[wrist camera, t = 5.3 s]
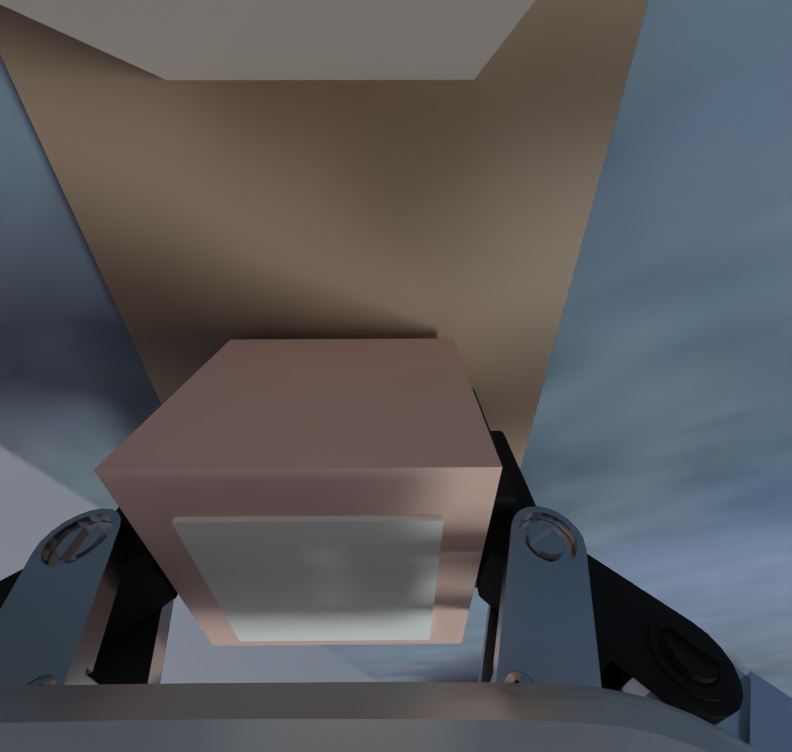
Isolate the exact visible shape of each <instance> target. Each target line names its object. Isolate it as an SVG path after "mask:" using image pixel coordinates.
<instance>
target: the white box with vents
mask: <svg viewBox="0 0 792 752" xmlns="http://www.w3.org/2000/svg"><path fill="white" fill-rule="evenodd" d="M534 1H535V0H0V5H3V6H5V7H7V8H9V9H11V10H14V11H16V12H18V13H20V14H22V15H24V16H27V17H29V18H31V19H33V20H35V21H38V22H40V23H42V24H44V25H46V26H49V27H51V28H53V29H55V30H57V31H60V32H62V33H64V34H66V35H68V36H71V37H73V38H75V39H77V40H79V41H82V42H84V43H86V44H88V45H90V46H93V47H95V48H97V49H99V50H101V51H104V52H106V53H108V54H110V55H112V56H114V57H117V58H119V59H121V60H123V61H125V62H128V63H130V64H132V65H134V66H136V67H139V68H141V69H143V70H145V71H147V72H150V73H152V74H154V75H156V76H158V77H161V78H163V79H165V80H474V79H475V78H476V76H477V75H478V74H479V73H480V71H481V70H482V69H483V67H484V66H485V65H486V64H487V62H488V61H489V60H490V58H491V57H492V56H493V54H494V53H495V52H496V51H497V49H498V48H499V47H500V45H501V44H502V43H503V42H504V40H505V39H506V38H507V36H508V35H509V34H510V32H511V31H512V30H513V29H514V27H515V26H516V25H517V23H518V22H519V21H520V19H521V18H522V17H523V16H524V14H525V13H526V12H527V10H528V9H529V8H530V7H531V5H532V4H533V3H534Z"/></svg>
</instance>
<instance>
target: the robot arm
mask: <svg viewBox="0 0 792 752" xmlns="http://www.w3.org/2000/svg"><path fill="white" fill-rule="evenodd" d="M472 389H473V388H472ZM473 392H474V394H475V397H476V400H477V402H478V405H479V407H480V410H481V413H482V415H483V418H484V420H485V423H486V426H487V428H488V431H489V434H490V436H491V439H492V441H493V444H494V447H495V449H496V452H497V454H498V457H499V460H500V462H501V465H502V471H501V475H500V480H499V484H498V488H497V492H496V497H495V501H494V505H493V510H492V514H491V518H490V522H489V527H488V531H487V535H486V540H485V544H484V548H483V552H482V557H481V561H480V565H479V570H478V574H477V578H476V582H475V587H477V588H478V593H479V596H480V597H481V598H482V599H483V600H484V601H486V602H487V603H488V604H489V606H488V613H487V621H486V628H485V636H484V643H483V651H482V658H481V665H480V673H479V680H478V682H323V683H321V682H319V683H194V684H193V683H192V684H191V683H189V684H160V681H161V675H162V669H163V663H164V657H165V650H166V644H167V639H168V632H169V626H170V620H171V614H172V607H173V599H175V598H176V596H177V595H178V593H177V591H176V590H175V588H174V587H173V585H172V584H171V582H170V581H169V579H168V578H167V577H166V575H165V574H164V572H163V571H162V569H161V568H160V566H159V565H158V563H157V562H156V560H155V559H154V557H153V556H152V554H151V553H150V551H149V550H148V549H147V547H146V546H145V544H144V543H143V541H142V540H141V538H140V537H139V535H138V534H137V532H136V531H135V529H134V528H133V526H132V525H131V524H130V522H129V521H128V519H127V518H126V516H125V515H124V513H123V512H122V510H121V509H120V507H119V508H118V509H117V510H116V511H114V510H112V509H103V508H102V509H97V510H91V511H88V512H85V513H83V514H80V515H77V516H75V517H73V518H72V519H70V520H68V521H66V522H64V523H62V524H61V525H60V526H58V527H57V528H56V529H54V530H53V531H51V532H50V533H49V534H48V535H47V536H46V537H45V538H44V539H43V540H42V541H41V542H40V543H39V544H38V546H37V547H36V548H35V550H34V551H33V553H32V554H31V556H30V558H29V560H28V561H27V563H26V565H25V567H24V569H22V570H21V571H18V572H17V573H14V574H13V575H11V576H9V577H7V578H5V579H3V580H1V581H0V752H792V698H791V697H789V696H788V695H786V694H785V693H783V692H782V691H780V690H779V689H777V688H776V687H774V686H773V685H771V684H770V683H768V682H767V681H765V680H764V679H762V678H760V677H759V676H757V675H756V674H754V673H753V672H750V673H748V674H747V675H745V674H743V673H742V672H740V671H739V670H737V669H736V668H735V667H734V665H733V664H732V662H731V661H730V659H729V658H728V657H727V655H726V654H725V652H724V651H723V650H722V648H721V647H720V646H719V645H718V644H717V643H716V642H715V641H714V640H713V639H712V638H711V637H710V636H709V635H708V634H707V633H706V632H704V631H703V630H702V629H700V628H699V627H698V626H697V625H695V624H694V623H693V622H691V621H690V620H688V619H687V618H685V617H683V616H682V615H680V614H679V613H677V612H676V611H674V610H673V609H671V608H670V607H668V606H667V605H665V604H663V603H662V602H660V601H659V600H657V599H656V598H654V597H653V596H651V595H650V594H648V593H646V592H645V591H643V590H642V589H640V588H639V587H637V586H636V585H634V584H633V583H631V582H630V581H628V580H626V579H625V578H623V577H622V576H620V575H619V574H617V573H616V572H614V571H613V570H611V569H610V568H608V567H606V566H605V565H603V564H602V563H600V562H599V561H597V560H596V559H594V558H593V557H591V556H590V555H588V554H587V552H586V546H585V543H584V539H583V537H582V535H581V534H580V532H579V531H578V529H577V528H576V527H575V526H574V525H573V524H572V523H571V522H570V521H569V520H568V519H567V518H566V517H564V516H563V515H561V514H560V513H558V512H556V511H553V510H551V509H548V508H544V507H538V506H536V505H535V503H534V501H533V498H532V496H531V494H530V491H529V489H528V487H527V485H526V482H525V480H524V478H523V475H522V473H521V471H520V469H519V466H518V464H517V462H516V460H515V457H514V455H513V453H512V450H511V448H510V446H509V444H508V441H507V439H506V437H505V435H504V433H503V432H502V431H490V428H489V426H488V423H487V421H486V418H485V416H484V413H483V410H482V408H481V405H480V403H479V400H478V398H477V395H476V392H475V390H474V389H473Z"/></svg>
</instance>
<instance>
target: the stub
mask: <svg viewBox="0 0 792 752" xmlns="http://www.w3.org/2000/svg"><path fill="white" fill-rule="evenodd" d="M94 471H95V472H96V473H97V475H98V476H99V478H100V479H101V481H102V482H103V484H104V485H105V487H106V488H107V490H108V491H109V493H110V494H111V496H112V497H113V498H114V500H115V501H116V503H117V504H118V506H119V507H120V509H121V510H122V512H123V513H124V515H125V516H126V518H127V519H128V521H129V522H130V524H131V525H132V526H133V528H134V529H135V531H136V532H137V534H138V535H139V537H140V538H141V540H142V541H143V543H144V544H145V546H146V547H147V549H148V550H149V551H150V553H151V554H152V556H153V557H154V559H155V560H156V562H157V563H158V565H159V566H160V568H161V569H162V571H163V572H164V574H165V575H166V577H167V578H168V579H169V581H170V582H171V584H172V585H173V587H174V588H175V590H176V591H177V593H178V594H179V596H180V597H181V599H182V600H183V602H184V603H185V604H186V606H187V607H188V609H189V610H190V612H191V613H192V615H193V616H194V618H195V619H196V621H197V622H198V624H199V625H200V627H201V628H202V629H203V631H204V632H205V634H206V635H207V637H208V638H209V640H210V641H211V642H212V644H213V645H214V646H237V645H238V646H240V645H358V644H461V642H462V638H463V634H464V630H465V625H466V621H467V617H468V612H469V608H470V604H471V600H472V595H473V591H474V587H475V582H476V578H477V574H478V570H479V565H480V561H481V557H482V552H483V548H484V544H485V540H486V535H487V531H488V527H489V522H490V518H491V514H492V510H493V505H494V501H495V497H496V492H497V488H498V484H499V480H500V475H501V471H502V465H501V462H500V460H499V457H498V454H497V452H496V449H495V447H494V444H493V441H492V439H491V436H490V434H489V431H488V428H487V426H486V423H485V420H484V418H483V415H482V413H481V410H480V407H479V405H478V402H477V400H476V397H475V394H474V392H473V389H472V387H471V384H470V381H469V379H468V376H467V374H466V371H465V368H464V366H463V363H462V361H461V358H460V355H459V353H458V350H457V347H456V345H455V342H454V340H453V339H247V340H229V341H228V342H227V343H226V344H225V345H224V346H223V347H222V348H221V349H220V350H219V351H218V352H217V353H216V354H215V355H214V356H213V357H212V358H211V359H210V360H208V361H207V362H206V363H205V364H204V365H203V366H202V367H201V368H200V369H199V370H198V371H197V372H196V373H195V374H194V375H193V376H192V377H191V378H190V379H189V380H188V381H186V382H185V383H184V384H183V385H182V386H181V387H180V388H179V389H178V390H177V391H176V392H175V393H174V394H173V395H172V396H171V397H170V398H169V399H168V400H167V401H166V402H164V403H163V404H162V405H161V406H160V407H159V408H158V409H157V410H156V411H155V412H154V413H153V414H152V415H151V416H150V417H149V418H148V419H147V420H146V421H145V422H144V423H142V424H141V425H140V426H139V427H138V428H137V429H136V430H135V431H134V432H133V433H132V434H131V435H130V436H129V437H128V438H127V439H126V440H125V441H124V442H123V443H122V444H120V445H119V446H118V447H117V448H116V449H115V450H114V451H113V452H112V453H111V454H110V455H109V456H108V457H107V458H106V459H105V460H104V461H103V462H102V463H101V464H99V465H98V466H97V467H96V468H95V469H94Z"/></svg>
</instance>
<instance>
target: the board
mask: <svg viewBox="0 0 792 752" xmlns="http://www.w3.org/2000/svg"><path fill="white" fill-rule="evenodd" d="M647 3H648V0H535V1H534V3H533V4H532V5H531V7H530V8H529V9H528V10H527V12H526V13H525V14H524V16H523V17H522V18H521V19H520V21H519V22H518V23H517V25H516V26H515V27H514V29H513V30H512V31H511V32H510V34H509V35H508V36H507V38H506V39H505V40H504V42H503V43H502V44H501V45H500V47H499V48H498V49H497V51H496V52H495V53H494V54H493V56H492V57H491V58H490V60H489V61H488V62H487V64H486V65H485V66H484V67H483V69H482V70H481V71H480V73H479V74H478V75H477V76H476V78H475V79H474V80H165V79H163V78H161V77H158V76H156V75H154V74H152V73H150V72H147V71H145V70H143V69H141V68H139V67H136V66H134V65H132V64H130V63H128V62H125V61H123V60H121V59H119V58H117V57H114V56H112V55H110V54H108V53H106V52H104V51H101V50H99V49H97V48H95V47H93V46H90V45H88V44H86V43H84V42H82V41H79V40H77V39H75V38H73V37H71V36H68V35H66V34H64V33H62V32H60V31H57V30H55V29H53V28H51V27H49V26H46V25H44V24H42V23H40V22H38V21H35V20H33V19H31V18H29V17H27V16H24V15H22V14H20V13H18V12H16V11H14V10H11V9H9V8H7V7H5V6H3V5H0V55H1V57H2V60H3V62H4V64H5V66H6V68H7V70H8V73H9V75H10V77H11V79H12V81H13V83H14V86H15V88H16V90H17V92H18V94H19V96H20V99H21V101H22V103H23V105H24V107H25V109H26V112H27V114H28V116H29V118H30V120H31V122H32V125H33V127H34V129H35V131H36V133H37V135H38V138H39V140H40V142H41V144H42V146H43V148H44V151H45V153H46V155H47V157H48V159H49V162H50V164H51V166H52V168H53V170H54V172H55V175H56V177H57V179H58V181H59V183H60V185H61V188H62V190H63V192H64V194H65V196H66V198H67V201H68V203H69V205H70V207H71V209H72V211H73V214H74V216H75V218H76V220H77V222H78V224H79V227H80V229H81V231H82V233H83V235H84V237H85V240H86V242H87V244H88V246H89V248H90V250H91V253H92V255H93V257H94V259H95V261H96V263H97V266H98V268H99V270H100V272H101V274H102V277H103V279H104V281H105V283H106V285H107V287H108V290H109V292H110V294H111V296H112V298H113V300H114V303H115V305H116V307H117V309H118V311H119V313H120V316H121V318H122V320H123V322H124V324H125V326H126V329H127V331H128V333H129V335H130V337H131V339H132V342H133V344H134V346H135V348H136V350H137V352H138V355H139V357H140V359H141V361H142V363H143V365H144V368H145V370H146V372H147V374H148V376H149V378H150V381H151V383H152V385H153V387H154V389H155V391H156V394H157V396H158V398H159V400H160V402H161V405H162V404H163V403H164V402H166V401H167V400H168V399H169V398H170V397H171V396H172V395H173V394H174V393H175V392H176V391H177V390H178V389H179V388H180V387H181V386H182V385H183V384H184V383H185V382H186V381H188V380H189V379H190V378H191V377H192V376H193V375H194V374H195V373H196V372H197V371H198V370H199V369H200V368H201V367H202V366H203V365H204V364H205V363H206V362H207V361H208V360H210V359H211V358H212V357H213V356H214V355H215V354H216V353H217V352H218V351H219V350H220V349H221V348H222V347H223V346H224V345H225V344H226V343H227V342H228V341H229V340H247V339H453V340H454V342H455V345H456V347H457V350H458V353H459V355H460V358H461V361H462V363H463V366H464V368H465V371H466V374H467V376H468V379H469V381H470V384H471V387H472V388H473V389H474V390H475V392H476V395H477V398H478V400H479V403H480V405H481V408H482V410H483V413H484V416H485V418H486V421H487V423H488V426H489V428H490V431H502V432H503V433H504V435H505V437H506V439H507V441H508V444H509V446H510V448H511V450H512V453H513V455H514V457H515V460H516V462H517V464H518V466H519V469H520V467H521V464H522V460H523V456H524V453H525V449H526V445H527V442H528V438H529V434H530V431H531V427H532V423H533V420H534V416H535V412H536V409H537V405H538V402H539V398H540V394H541V391H542V387H543V383H544V380H545V376H546V372H547V369H548V365H549V361H550V358H551V354H552V350H553V347H554V343H555V339H556V336H557V332H558V328H559V325H560V321H561V317H562V314H563V310H564V307H565V303H566V299H567V296H568V292H569V288H570V285H571V281H572V277H573V274H574V270H575V266H576V263H577V259H578V255H579V252H580V248H581V244H582V241H583V237H584V233H585V230H586V226H587V223H588V219H589V215H590V212H591V208H592V204H593V201H594V197H595V193H596V190H597V186H598V182H599V179H600V175H601V171H602V168H603V164H604V160H605V157H606V153H607V149H608V146H609V142H610V139H611V135H612V131H613V128H614V124H615V120H616V117H617V113H618V109H619V106H620V102H621V98H622V95H623V91H624V87H625V84H626V80H627V76H628V73H629V69H630V65H631V62H632V58H633V55H634V51H635V47H636V44H637V40H638V36H639V33H640V29H641V25H642V22H643V18H644V14H645V11H646V7H647Z"/></svg>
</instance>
